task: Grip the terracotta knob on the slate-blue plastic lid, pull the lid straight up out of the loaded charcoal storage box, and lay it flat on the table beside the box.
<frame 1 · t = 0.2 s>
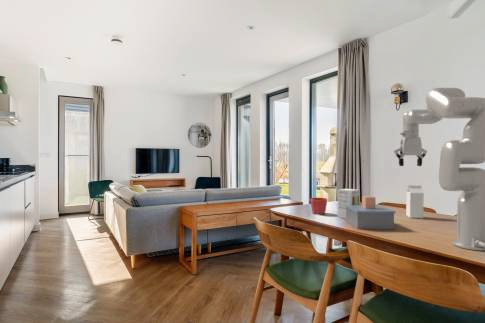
hand: (410, 166, 165), 31 cm above the table, tool pointing down, fingers open, 9 cm apart
lid: (368, 212, 159), point 7 cm above the table, touching storage box
flower pot: (318, 214, 192), on the table
milk carton: (414, 217, 181), on the table
storage box: (368, 225, 159), on the table
supplement box: (348, 217, 179), on the table
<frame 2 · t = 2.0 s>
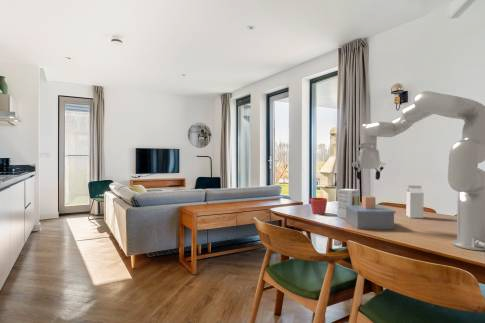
hand: (368, 179, 159), 24 cm above the table, tool pointing down, fingers open, 9 cm apart
nothing on the table moved.
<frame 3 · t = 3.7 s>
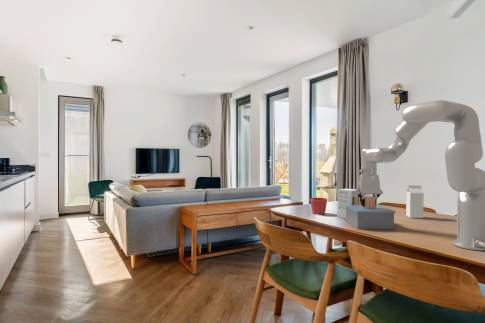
hand: (368, 206, 159), 10 cm above the table, tool pointing down, fingers closed on lid, 5 cm apart
lid: (368, 212, 159), point 7 cm above the table, touching gripper, storage box
everything else where it was.
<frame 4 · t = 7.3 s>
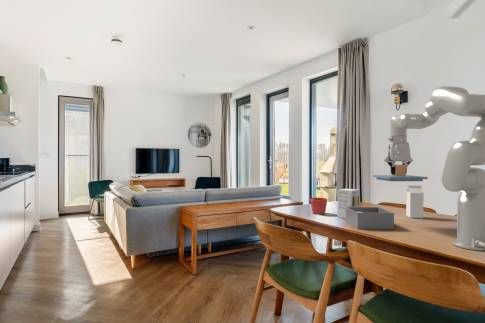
hand: (398, 174, 159), 27 cm above the table, tool pointing down, fingers closed on lid, 5 cm apart
lid: (398, 180, 159), point 24 cm above the table, touching gripper
everything else where it was.
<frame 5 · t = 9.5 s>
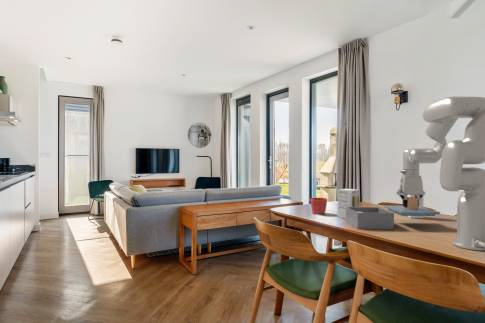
hand: (410, 206, 159), 10 cm above the table, tool pointing down, fingers closed on lid, 5 cm apart
lid: (410, 212, 159), point 6 cm above the table, touching gripper
everything else where it was.
when the fingers open (4 cm above the table, at t = 11.1 s): lid drops 2 cm, on the table.
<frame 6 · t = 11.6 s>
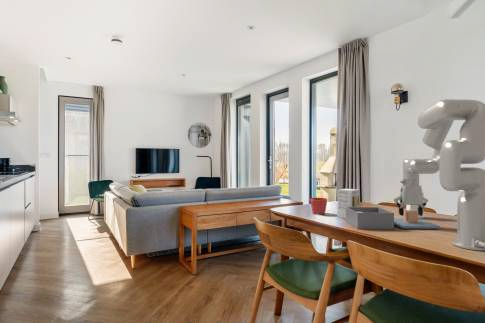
hand: (410, 215, 159), 5 cm above the table, tool pointing down, fingers open, 9 cm apart
lid: (410, 226, 159), on the table
everything else where it was.
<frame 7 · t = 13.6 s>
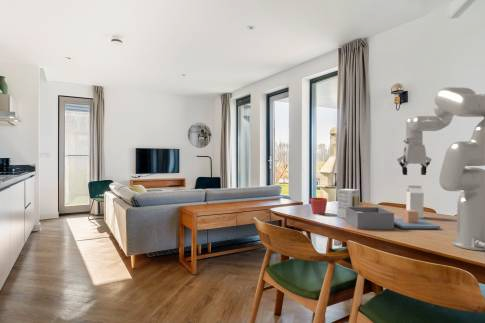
hand: (414, 174, 158), 27 cm above the table, tool pointing down, fingers open, 9 cm apart
nothing on the table moved.
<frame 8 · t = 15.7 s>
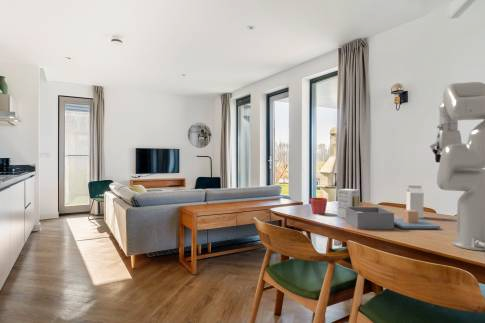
hand: (448, 162, 150), 33 cm above the table, tool pointing down, fingers open, 9 cm apart
nothing on the table moved.
at the end: lid inside the target area (0.0 cm from its centre), on the table; lid tilted 0°; the gripper is holding nothing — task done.
